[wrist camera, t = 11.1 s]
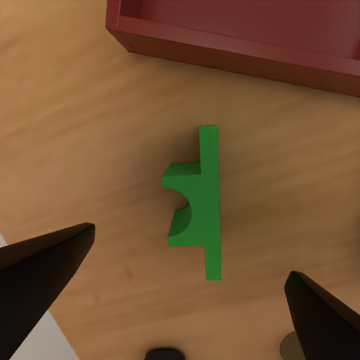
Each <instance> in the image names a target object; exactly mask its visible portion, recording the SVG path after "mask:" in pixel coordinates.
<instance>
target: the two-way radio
mask: <svg viewBox="0 0 360 360" xmlns="http://www.w3.org/2000/svg"><path fill="white" fill-rule="evenodd" d="M144 360H185V358H184V356H183V355H182V354H180V353H179V352H177V351H173V350H161V351H152V352H149V353H148V354H146V357H145V359H144Z"/></svg>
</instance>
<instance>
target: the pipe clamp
mask: <svg viewBox="0 0 360 360" xmlns="http://www.w3.org/2000/svg"><path fill="white" fill-rule="evenodd" d="M199 141H200V162H190V163H172V164H170V166H169V167H168V168H167V170H166V171H165V172H164V174H163V175H162V176H161V178H162V187H167V188H172V189H175V190H177V191H179V192H180V193H182V194H183V195H184V196H185V197H186V198H187V200H188V201H189V203H190V204H189V205H188V206H187V207H185V208H184V209H181V210H177V211H175V213H174V216H173V220H172V223H171V227H170V230H169V233H168V246H205V266H206V280H221V247H220V205H219V163H218V125H207V126H199Z"/></svg>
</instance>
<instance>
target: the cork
mask: <svg viewBox="0 0 360 360" xmlns="http://www.w3.org/2000/svg"><path fill="white" fill-rule="evenodd" d="M280 354H281V357H282V359H283V360H306V359H305V356H304V354H303V351H302V348H301V345H300V342H299V340H298V337H297V334H296V332H294V333H292V334H290V335H288V336H287V337H286V338H285V339H284V340H283V341H282V343H281V346H280Z"/></svg>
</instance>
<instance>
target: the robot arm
mask: <svg viewBox="0 0 360 360" xmlns="http://www.w3.org/2000/svg"><path fill="white" fill-rule="evenodd" d="M94 238H95V225H94V224H92V223H88V222H85V223H82V224H78V225H75V226H72V227H68V228H65V229H62V230H58V231H55V232H52V233H48V234H45V235H41V236H38V237H35V238H31V239H28V240H25V241H21V242H18V243H15V244H11V245H8V246H5V247H1V248H0V360H9V359H10V358H11V357H12V355H13V354H14V353H15V351H16V350H17V349H18V348H19V346H20V345H21V344H22V342H23V341H24V340H25V338H26V337H27V336H28V334H29V333H30V332H31V331H32V329H33V328H34V327H35V325H36V324H37V323H38V321H39V320H40V319H41V318H42V316H43V315H44V314H45V312H46V311H47V310H48V308H49V307H50V306H51V304H52V303H53V302H54V301H55V299H56V298H57V297H58V295H59V294H60V293H61V291H62V290H63V289H64V287H65V286H66V285H67V284H68V282H69V281H70V280H71V278H72V277H73V276H74V274H75V273H76V271H77V270H78V268H79V266H80V265H81V263H82V261H83V260H84V258H85V257H86V255H87V253H88V252H89V250H90V248H91V247H92V245H93V243H94ZM284 290H285V294H286V298H287V302H288V306H289V310H290V314H291V317H292V321H293V325H294V328H295V331H296V334H297V337H298V340H299V342H300V345H301V348H302V351H303V354H304V356H305V359H306V360H360V315H359V314H357V313H356V312H355V311H353V310H352V309H351V308H349V307H348V306H347V305H345V304H344V303H343V302H341V301H340V300H339V299H337V298H336V297H335V296H333V295H332V294H330V293H329V292H328V291H326V290H325V289H324V288H322V287H321V286H320V285H318V284H317V283H316V282H314V281H313V280H312V279H310V278H309V277H308V276H306V275H305V274H304V273H302V272H298V271H291V272H290V274H289V276H288V279H287V281H286V283H285V286H284Z"/></svg>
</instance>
